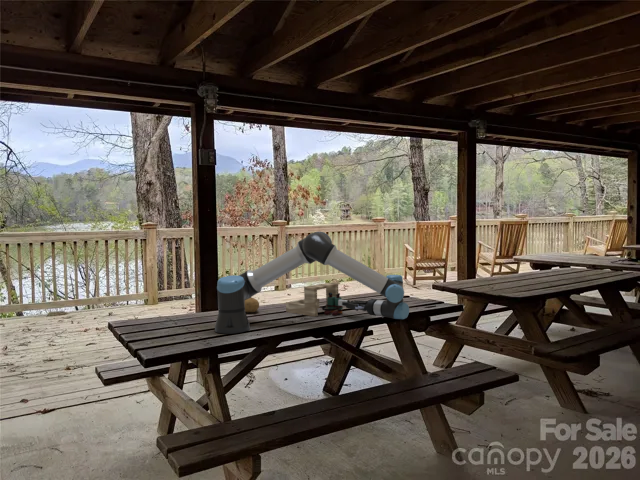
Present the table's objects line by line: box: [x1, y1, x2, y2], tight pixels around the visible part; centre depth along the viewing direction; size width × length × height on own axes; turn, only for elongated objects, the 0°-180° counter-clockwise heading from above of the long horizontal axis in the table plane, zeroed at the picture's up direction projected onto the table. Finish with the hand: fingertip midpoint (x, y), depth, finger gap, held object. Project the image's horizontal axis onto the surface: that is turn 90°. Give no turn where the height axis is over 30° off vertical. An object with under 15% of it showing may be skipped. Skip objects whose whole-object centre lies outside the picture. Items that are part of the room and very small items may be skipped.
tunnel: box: [285, 282, 339, 318], centre depth 243 cm, size 18×21×14 cm
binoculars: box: [321, 292, 344, 316], centre depth 234 cm, size 9×11×10 cm
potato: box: [245, 296, 260, 313], centre depth 246 cm, size 10×14×8 cm
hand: (339, 302), depth 232 cm, fingers closed
